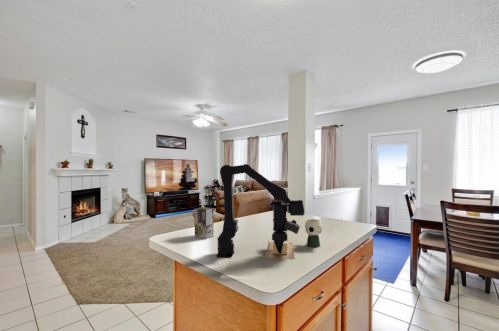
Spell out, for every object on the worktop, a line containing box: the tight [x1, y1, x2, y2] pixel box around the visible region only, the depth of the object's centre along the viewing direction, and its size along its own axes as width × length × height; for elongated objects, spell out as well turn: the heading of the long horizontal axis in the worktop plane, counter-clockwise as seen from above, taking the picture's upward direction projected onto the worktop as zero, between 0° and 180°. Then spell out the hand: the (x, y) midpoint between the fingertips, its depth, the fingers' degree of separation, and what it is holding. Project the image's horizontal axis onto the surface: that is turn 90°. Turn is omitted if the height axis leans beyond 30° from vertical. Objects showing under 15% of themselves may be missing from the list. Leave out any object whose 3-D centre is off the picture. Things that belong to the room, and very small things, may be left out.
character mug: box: [304, 218, 323, 248], centre depth 110 cm, size 11×7×13 cm, turn 29°
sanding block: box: [272, 241, 288, 254], centre depth 99 cm, size 6×4×4 cm, turn 82°
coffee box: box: [194, 206, 214, 240], centre depth 129 cm, size 9×6×16 cm
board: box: [265, 241, 296, 260], centre depth 104 cm, size 12×22×1 cm, turn 172°
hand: (280, 251), depth 99 cm, fingers closed on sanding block, 4 cm apart
